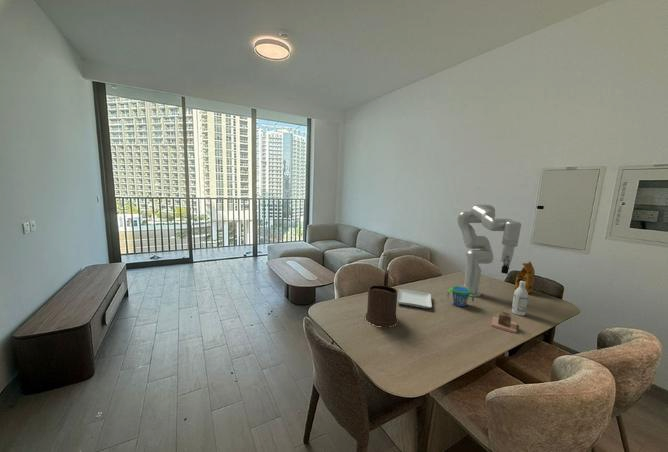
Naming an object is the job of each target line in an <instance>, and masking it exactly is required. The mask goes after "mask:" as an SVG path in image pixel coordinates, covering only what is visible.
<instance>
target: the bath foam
mask: <svg viewBox="0 0 668 452" xmlns="http://www.w3.org/2000/svg"><path fill="white" fill-rule="evenodd" d="M525 286H526V282H524V281H520V284H519V287H518V288H517V289H516V290H515V289H514V292H513V299H512V306H511V312H512V314H515V315H517V316H525V315H526V314H527V313H526V312H527V306H528V300H529V293H528V292H527V290H526V289H525Z"/></svg>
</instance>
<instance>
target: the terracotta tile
mask: <svg viewBox="0 0 668 452" xmlns="http://www.w3.org/2000/svg"><path fill="white" fill-rule="evenodd" d="M498 320H499V317H497V316H493V317H492V320H491V328H492V327H493V328H496V329H499V330H502V331H506V332H509V333H513V334H517V321H512V320H511V324H510V327H507V326H504V325H500V324H498Z"/></svg>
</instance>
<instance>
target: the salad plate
mask: <svg viewBox="0 0 668 452" xmlns="http://www.w3.org/2000/svg"><path fill="white" fill-rule="evenodd" d="M397 304H399V305H404V306H408V305H409V307H414V306H415V308H420V307H421V309H431V308H432V307H433V303H432V294H431V293H429V292H423V291H417V290H411V289H405V288H404V289H403V288H398V292H397Z"/></svg>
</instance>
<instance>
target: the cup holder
mask: <svg viewBox="0 0 668 452" xmlns="http://www.w3.org/2000/svg"><path fill="white" fill-rule="evenodd" d="M389 273H390V271H389V269H385V271H384V279H383V285H379V284H378V285H370V286H369V287H368V289H367V290H368V291H367V309H366V310H367V311H366V313H365V315H366V316H365V315H364V318H365V317H366V320H367V321H368V322H370V323H371V324H374V325H376V326H381V327H390V326H393V325H395V324H396V323H397V320H398V318H397V306H398V305H397V304H398V302H397V297H398V290H397V289H396V288H394V287H391V286H389ZM366 320H365V321H366ZM397 324H398V323H397ZM395 326H396V325H395ZM393 327H394V326H393ZM390 328H391V327H390Z"/></svg>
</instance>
